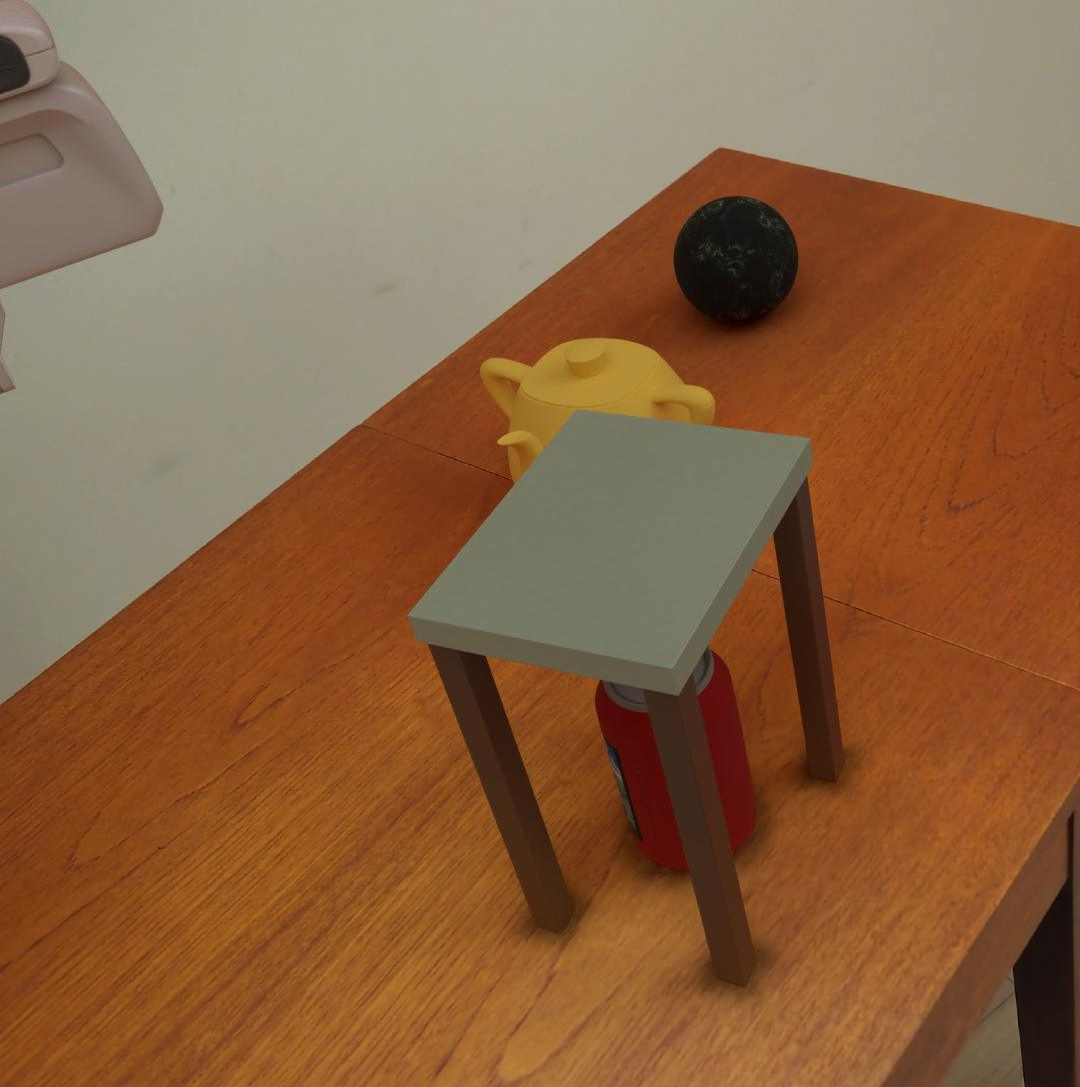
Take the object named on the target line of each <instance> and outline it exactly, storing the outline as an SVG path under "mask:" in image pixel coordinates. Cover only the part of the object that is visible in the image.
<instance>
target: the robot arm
mask: <svg viewBox="0 0 1080 1087" xmlns="http://www.w3.org/2000/svg"><path fill="white" fill-rule="evenodd" d="M42 16H43V15H41V14H40V12H39V11H38V10H36V9H35V8H34V6H32V5H31V4H29V3H28V2H27V1H25V0H0V290H2V289H5V288H8V287H11V286H14V285H17V284H21V283H23V282H26V281H29V280H31V279H35V278H37V277H40V276H43V275H45V274H48V273H51V272H55V271H57V270H60V269H64V268H65V267H69V266H71V265H74V264H77V263H80V262H84V261H86V260H88V259H91V258H95V257H97V256H100V255H103V254H106V253H110V252H111V251H114V250H118V249H120V248H123V247H126V246H129V245H132V244H135V243H137V242H140V241H143V240H146V239H150V238H151V237H153V236H155V235H156V234H157V232H158V230H159V227H160V225H161V221H162V218H163V214H164V211H165V208H164V203H163V202H162V199H161V197H160V195H159V193H158V190H157V189H156V186H155V184H154V183H153V181H152V178H151V176H150V175H149V173H148V171H147V169H146V167H145V166H144V164H143V162H142V161H141V159H140V157H139V155H138V153H137V152H136V150H135V148H134V147H133V145H132V144H131V142H130V140H129V139H128V137H127V136H126V134H125V132H124V131H123V128H122V127H121V126H120V124H119V122H118V120H116V118H115V116H114V115H113V113H112V112H111V110H110V109H109V108H108V106H107V104H106V103H105V102H104V100H103V99H102V97H100V95H99V94H98V92H97V91H96V90H95V88H94V87H93V85H92V84H91V83H90V82H89V80H87V79H86V78H85V77H84V76H83V75H82V73H81V72H79V71H78V70H77V69H76V68H74V67H73V66H72V65H71V64H69V63H67V62H66V61H63V60H61V59H60V54H59V50H58V47H57V43H56V41H55V38H54V35H53V34H52V31H51V29H50V27H49V25H48V23H47V21H45V18H44V17H42ZM5 320H6V310H5V308H4V304H3V302H2V299H1V298H0V395H2V394H4V393H8V392H10V391H13V390H15V389H17V388H16V384H15V381H14V378H13V376H12V373H11V371H10V370H9V368H8V367H9V366H8V365H7V364H6V362H5V360H4V358H3V357H2V346H3V337H4V330H5V322H6V321H5Z"/></svg>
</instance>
